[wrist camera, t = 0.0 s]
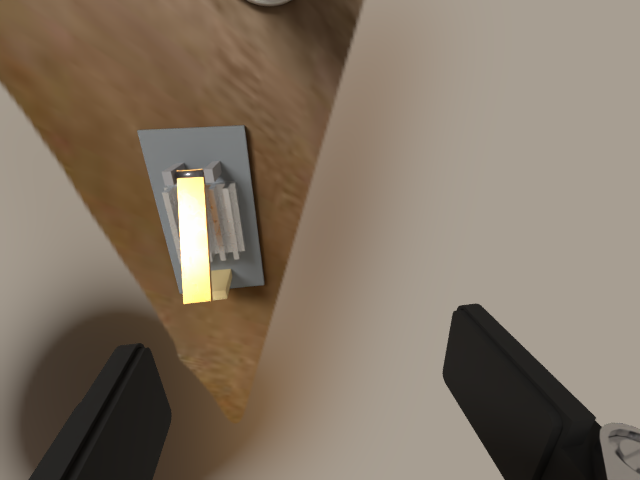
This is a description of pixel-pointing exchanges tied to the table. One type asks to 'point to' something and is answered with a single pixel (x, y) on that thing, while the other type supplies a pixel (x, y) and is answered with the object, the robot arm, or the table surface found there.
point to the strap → (194, 236)
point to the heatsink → (213, 219)
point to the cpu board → (219, 166)
